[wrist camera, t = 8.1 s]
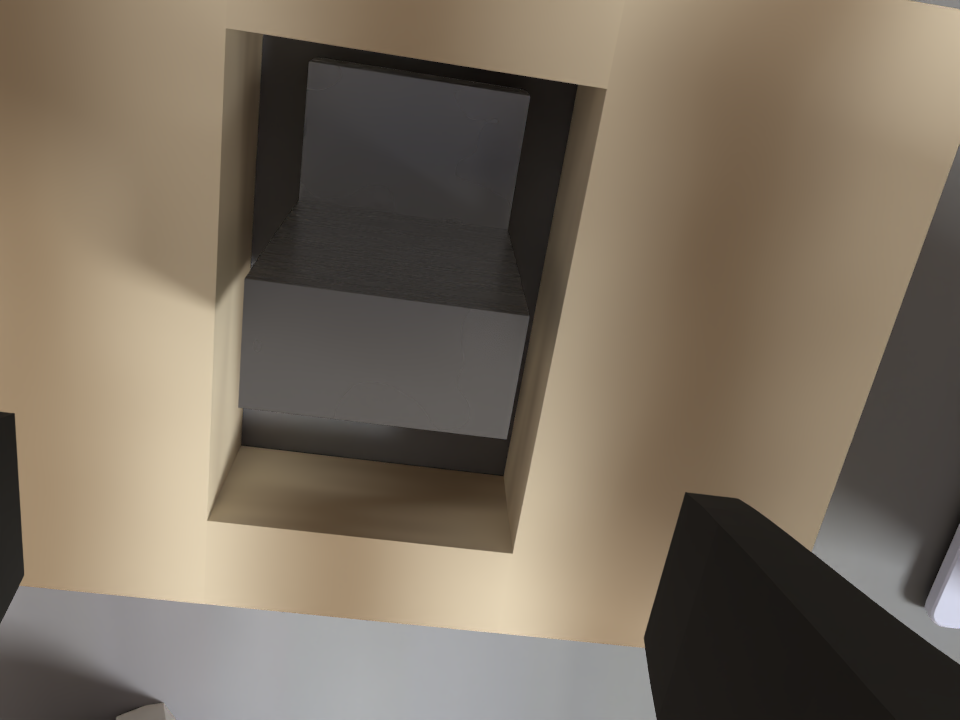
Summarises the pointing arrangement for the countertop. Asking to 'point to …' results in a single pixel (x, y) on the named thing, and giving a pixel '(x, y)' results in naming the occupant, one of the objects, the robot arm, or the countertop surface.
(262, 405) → the t bracket
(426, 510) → the well block
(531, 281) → the countertop surface
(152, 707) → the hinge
